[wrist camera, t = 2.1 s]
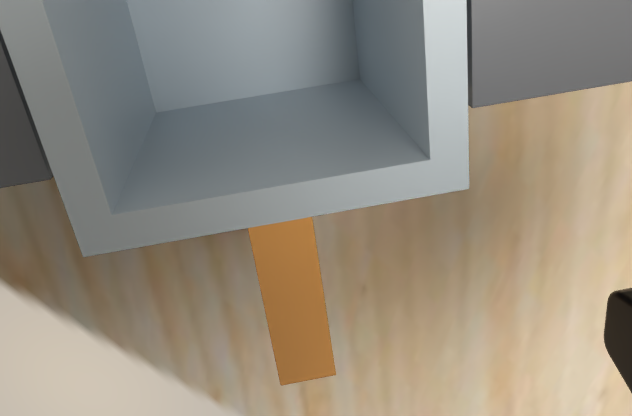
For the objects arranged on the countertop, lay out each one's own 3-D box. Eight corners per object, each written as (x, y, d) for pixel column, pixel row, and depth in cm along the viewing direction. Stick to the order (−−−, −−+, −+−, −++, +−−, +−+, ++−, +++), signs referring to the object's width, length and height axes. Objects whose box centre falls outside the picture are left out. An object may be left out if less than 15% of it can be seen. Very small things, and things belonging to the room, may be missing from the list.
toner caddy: (390, 207, 16) (471, 348, 10) (172, 246, 15) (139, 412, 10) (341, -392, 10) (455, -738, 5) (3, -354, 10) (-258, -681, 5)
